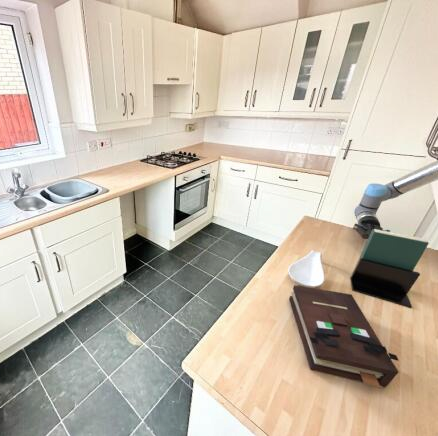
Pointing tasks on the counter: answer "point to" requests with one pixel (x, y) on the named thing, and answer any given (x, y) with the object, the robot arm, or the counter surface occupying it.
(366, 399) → the counter surface
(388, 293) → the bookend
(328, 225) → the counter surface
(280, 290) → the counter surface
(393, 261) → the book
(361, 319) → the decorative book
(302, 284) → the spoon rest
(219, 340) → the counter surface
